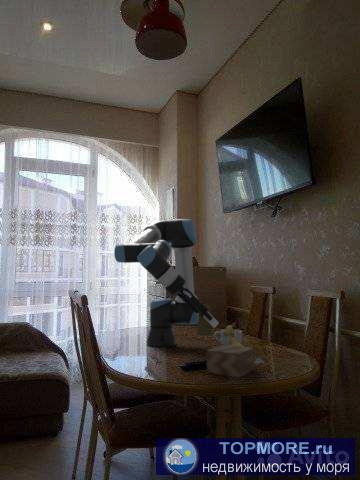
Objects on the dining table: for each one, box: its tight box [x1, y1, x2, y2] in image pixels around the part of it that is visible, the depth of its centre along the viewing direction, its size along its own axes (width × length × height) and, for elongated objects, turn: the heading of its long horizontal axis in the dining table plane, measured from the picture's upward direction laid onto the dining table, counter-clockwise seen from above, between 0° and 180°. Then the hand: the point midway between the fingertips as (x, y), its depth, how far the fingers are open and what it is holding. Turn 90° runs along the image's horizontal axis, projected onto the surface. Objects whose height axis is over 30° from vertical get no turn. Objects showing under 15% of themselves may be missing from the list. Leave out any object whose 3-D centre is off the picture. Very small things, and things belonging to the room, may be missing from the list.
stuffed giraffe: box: [224, 322, 264, 365], centre depth 155 cm, size 16×18×16 cm
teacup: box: [213, 328, 243, 345], centre depth 182 cm, size 14×11×8 cm
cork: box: [196, 303, 213, 337], centre depth 137 cm, size 6×6×11 cm
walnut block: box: [206, 344, 255, 378], centre depth 136 cm, size 13×13×8 cm
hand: (213, 324), depth 138 cm, fingers closed on cork, 5 cm apart
